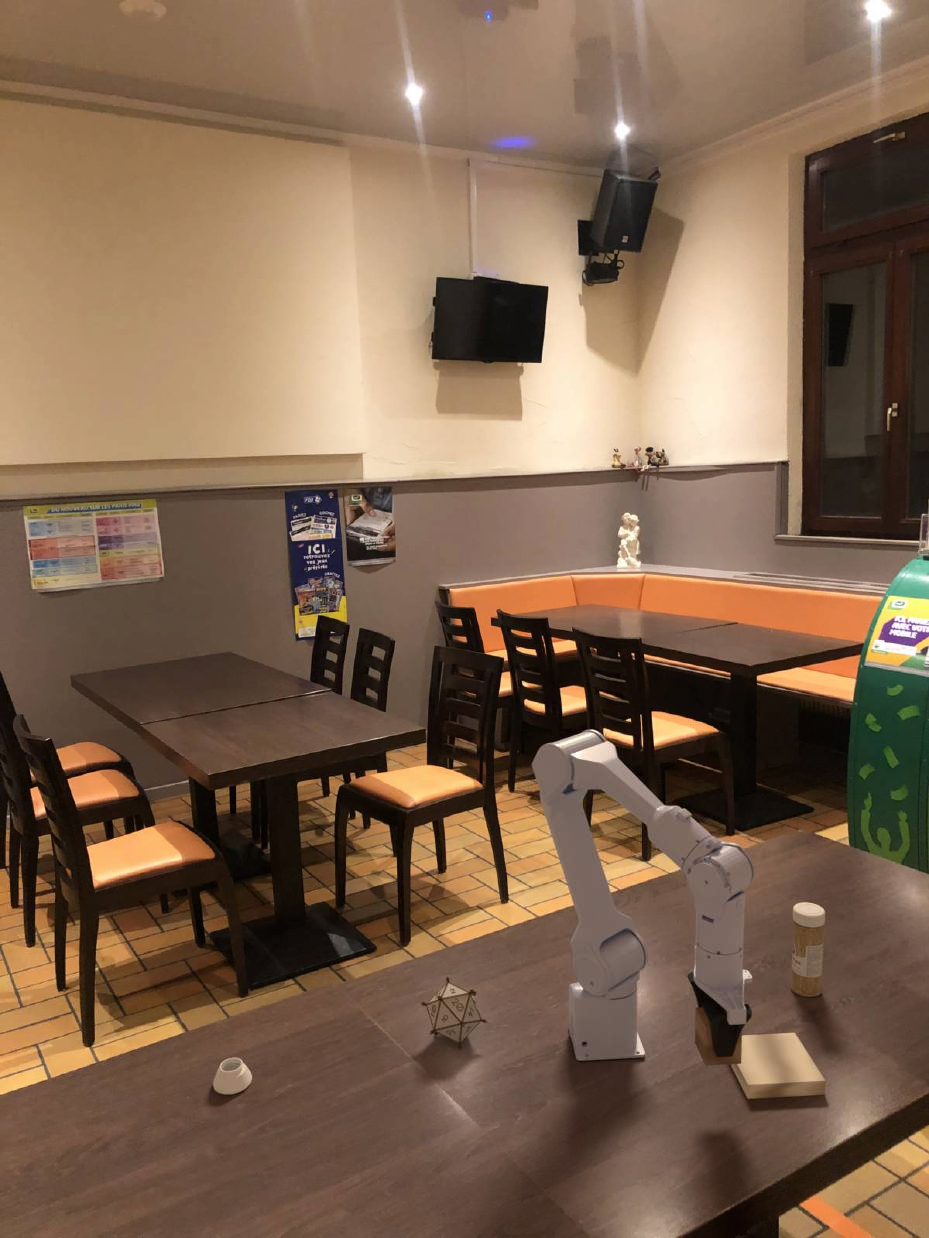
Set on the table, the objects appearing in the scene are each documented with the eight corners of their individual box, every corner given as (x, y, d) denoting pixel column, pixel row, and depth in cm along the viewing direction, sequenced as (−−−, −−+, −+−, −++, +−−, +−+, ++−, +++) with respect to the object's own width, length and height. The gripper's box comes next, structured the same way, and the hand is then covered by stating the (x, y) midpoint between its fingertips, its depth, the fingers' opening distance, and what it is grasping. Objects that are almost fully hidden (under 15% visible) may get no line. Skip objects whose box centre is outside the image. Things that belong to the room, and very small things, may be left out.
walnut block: (705, 1065, 115) (705, 1028, 114) (694, 1042, 119) (695, 1007, 118) (741, 1063, 115) (742, 1026, 114) (729, 1040, 119) (730, 1005, 119)
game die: (469, 1058, 134) (509, 1013, 131) (429, 1067, 128) (470, 1019, 125) (438, 1005, 140) (476, 960, 137) (399, 1011, 133) (437, 964, 131)
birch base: (747, 1098, 118) (748, 1084, 118) (723, 1049, 128) (723, 1036, 128) (824, 1094, 119) (825, 1080, 118) (794, 1045, 129) (794, 1032, 128)
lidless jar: (206, 1092, 123) (238, 1100, 122) (204, 1072, 123) (236, 1080, 121) (227, 1068, 128) (259, 1076, 126) (226, 1049, 127) (257, 1056, 126)
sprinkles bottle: (785, 982, 144) (787, 902, 141) (813, 980, 144) (816, 899, 142) (798, 999, 139) (801, 916, 137) (827, 997, 140) (831, 914, 137)
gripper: (773, 973, 108) (769, 1078, 110) (732, 912, 122) (730, 1006, 124) (712, 976, 107) (711, 1081, 110) (679, 915, 122) (678, 1009, 124)
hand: (717, 1042), depth 117 cm, fingers closed on walnut block, 4 cm apart
